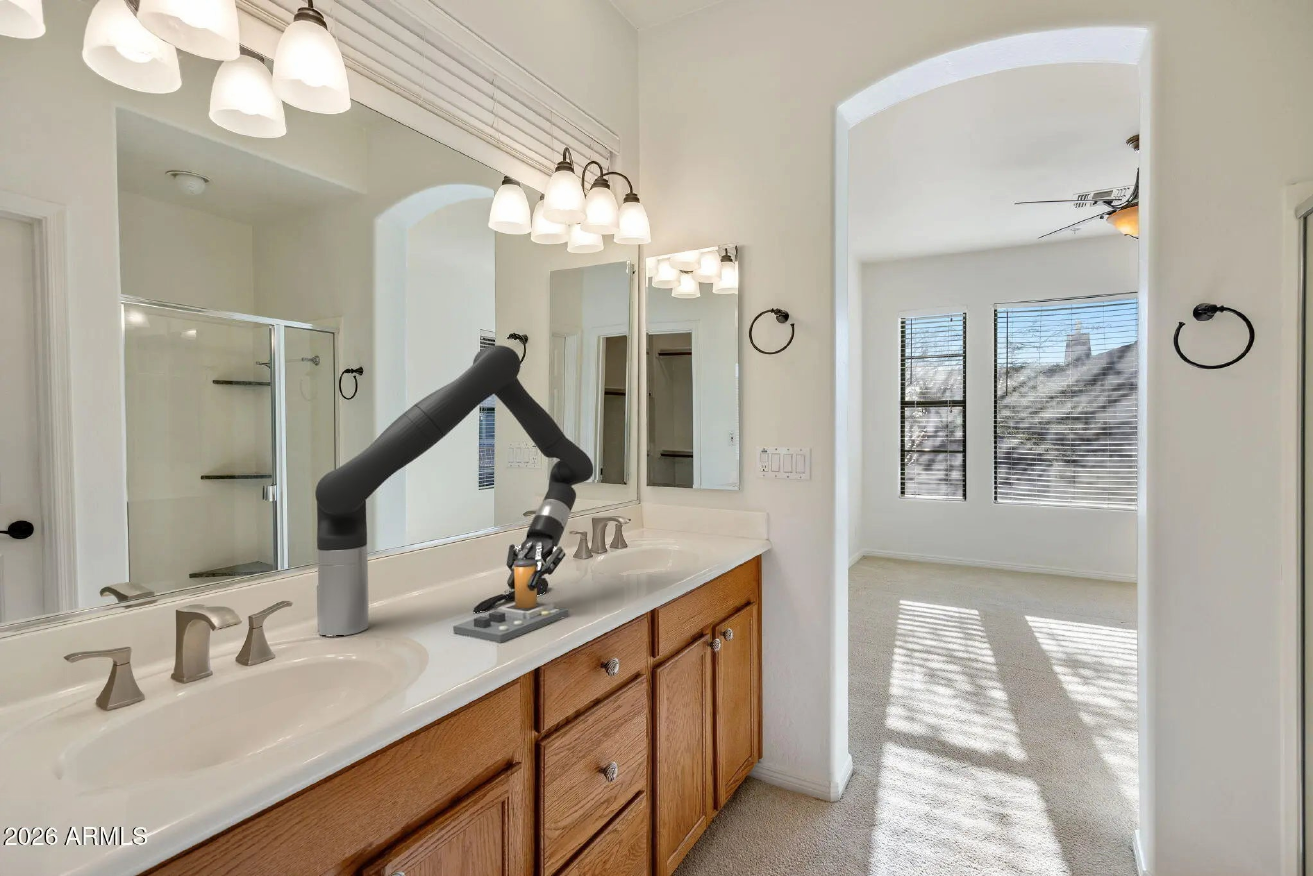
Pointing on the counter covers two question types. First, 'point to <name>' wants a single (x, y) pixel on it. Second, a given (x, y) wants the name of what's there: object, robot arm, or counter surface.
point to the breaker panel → (510, 622)
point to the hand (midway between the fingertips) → (520, 587)
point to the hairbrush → (507, 597)
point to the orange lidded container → (524, 583)
